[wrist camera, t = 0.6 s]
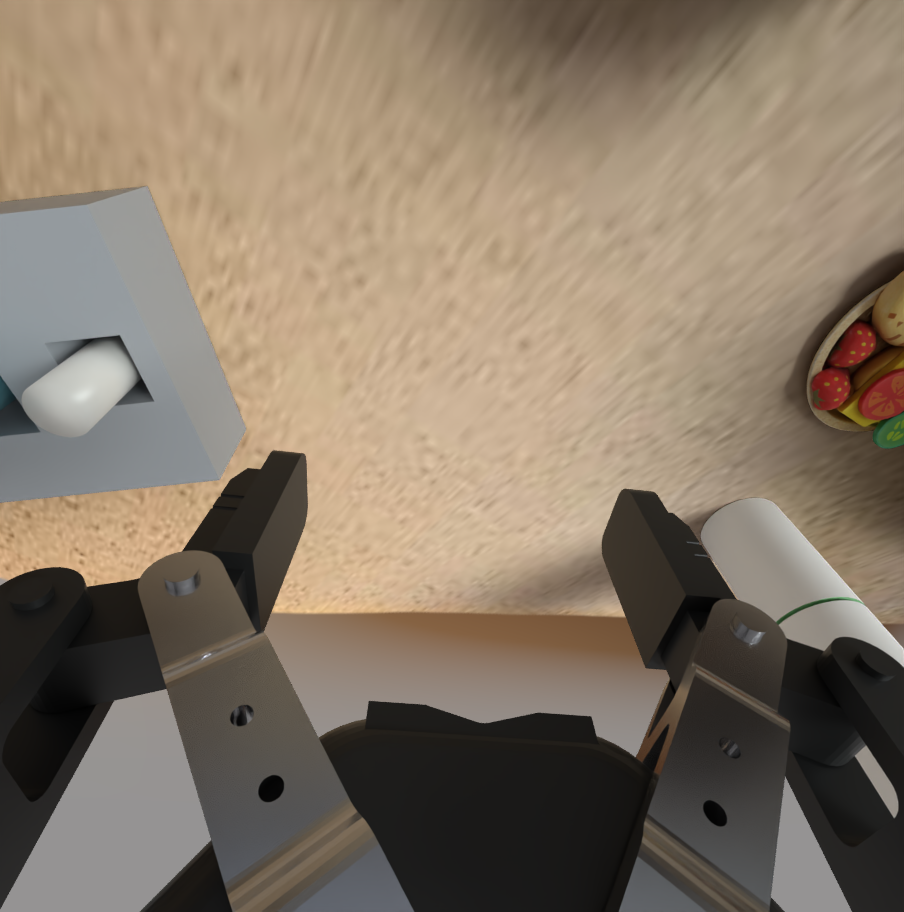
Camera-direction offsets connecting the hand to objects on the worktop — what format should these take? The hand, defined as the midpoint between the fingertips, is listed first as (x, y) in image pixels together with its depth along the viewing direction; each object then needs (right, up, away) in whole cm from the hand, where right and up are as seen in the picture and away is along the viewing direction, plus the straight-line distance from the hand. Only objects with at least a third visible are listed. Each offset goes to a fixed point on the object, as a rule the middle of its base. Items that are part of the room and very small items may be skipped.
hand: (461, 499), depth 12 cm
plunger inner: (-20, +7, +16) cm, 27 cm away
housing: (-28, +8, +19) cm, 35 cm away
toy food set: (+32, +9, +23) cm, 41 cm away
